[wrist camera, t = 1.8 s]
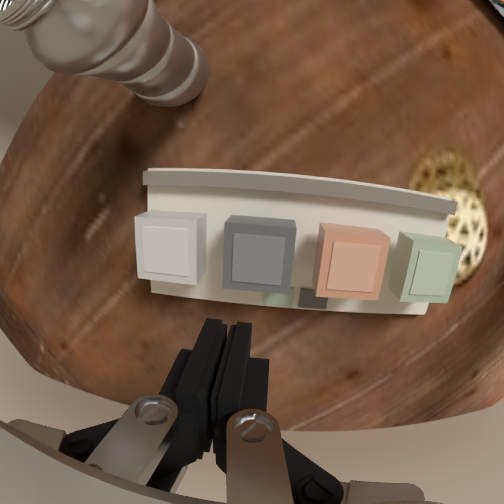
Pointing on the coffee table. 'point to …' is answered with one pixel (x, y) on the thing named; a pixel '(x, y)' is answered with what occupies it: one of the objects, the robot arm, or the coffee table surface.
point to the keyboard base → (307, 222)
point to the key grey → (171, 246)
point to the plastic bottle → (112, 45)
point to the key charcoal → (258, 254)
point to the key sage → (424, 268)
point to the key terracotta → (349, 261)
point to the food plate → (498, 5)
